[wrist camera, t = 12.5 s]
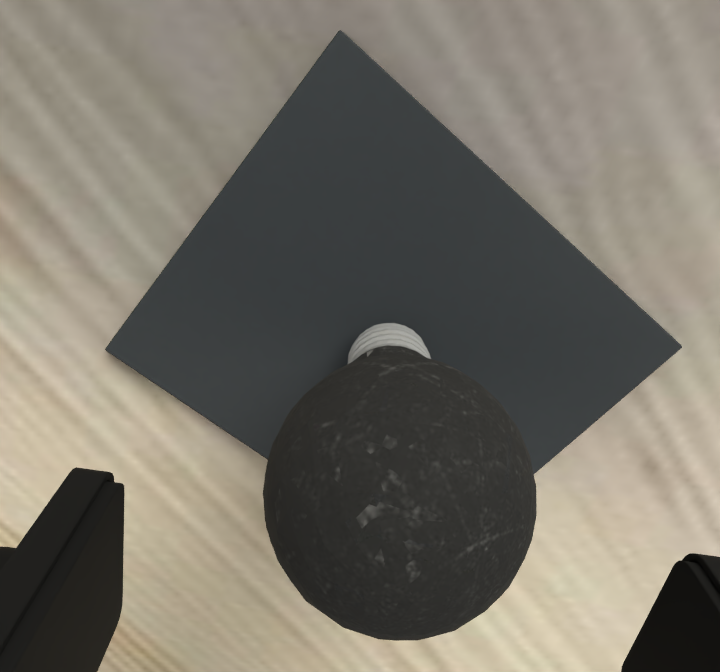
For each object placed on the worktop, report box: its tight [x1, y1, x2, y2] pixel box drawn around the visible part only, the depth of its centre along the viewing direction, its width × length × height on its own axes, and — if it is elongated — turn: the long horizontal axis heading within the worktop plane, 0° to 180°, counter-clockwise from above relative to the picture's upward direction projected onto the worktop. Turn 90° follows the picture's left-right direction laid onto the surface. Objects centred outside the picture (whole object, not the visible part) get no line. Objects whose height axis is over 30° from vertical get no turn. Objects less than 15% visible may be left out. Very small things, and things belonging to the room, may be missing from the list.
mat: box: [105, 30, 682, 474], centre depth 19 cm, size 14×12×1 cm
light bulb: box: [263, 323, 536, 640], centre depth 15 cm, size 6×6×10 cm
